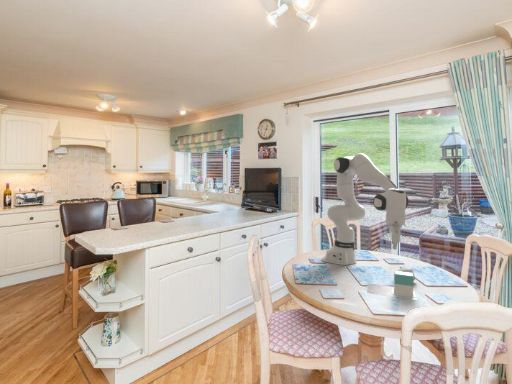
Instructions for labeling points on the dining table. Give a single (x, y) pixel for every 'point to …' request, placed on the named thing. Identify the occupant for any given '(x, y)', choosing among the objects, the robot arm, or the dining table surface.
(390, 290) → the white flat slab
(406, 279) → the teal brick
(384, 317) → the dining table surface
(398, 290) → the cream brick
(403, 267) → the grey brown rock
